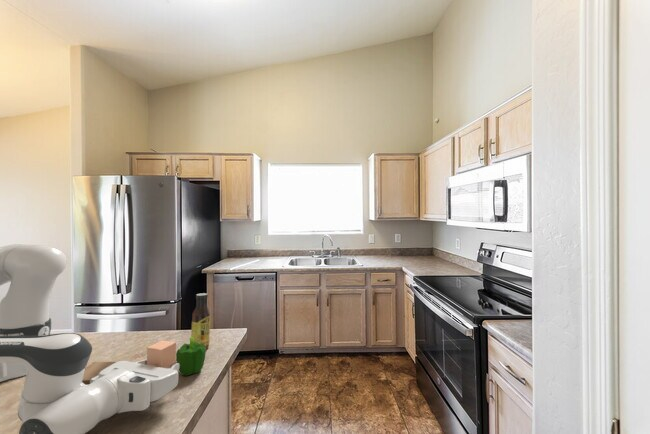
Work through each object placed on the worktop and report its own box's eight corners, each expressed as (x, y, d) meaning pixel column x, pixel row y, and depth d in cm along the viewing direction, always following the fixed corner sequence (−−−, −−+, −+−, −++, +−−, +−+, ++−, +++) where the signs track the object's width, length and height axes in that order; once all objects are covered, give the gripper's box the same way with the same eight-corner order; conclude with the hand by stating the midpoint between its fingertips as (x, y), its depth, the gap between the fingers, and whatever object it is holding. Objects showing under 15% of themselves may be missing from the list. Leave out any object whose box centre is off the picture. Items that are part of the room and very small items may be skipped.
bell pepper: (200, 378, 86) (200, 344, 86) (171, 379, 85) (172, 345, 86) (209, 364, 94) (209, 333, 95) (183, 365, 94) (183, 334, 94)
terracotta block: (161, 394, 78) (161, 349, 78) (146, 391, 79) (147, 347, 79) (175, 384, 83) (176, 342, 83) (161, 381, 84) (162, 340, 84)
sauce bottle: (202, 353, 102) (203, 297, 103) (187, 351, 103) (187, 296, 104) (213, 345, 109) (213, 292, 109) (198, 344, 110) (198, 291, 110)
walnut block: (65, 399, 75) (65, 380, 75) (94, 379, 85) (95, 361, 85) (104, 399, 76) (104, 380, 76) (129, 378, 86) (129, 361, 86)
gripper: (84, 396, 71) (135, 368, 85) (149, 411, 66) (193, 380, 79) (84, 370, 72) (135, 347, 85) (150, 384, 66) (193, 356, 79)
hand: (163, 363), depth 82 cm, fingers open, 8 cm apart
